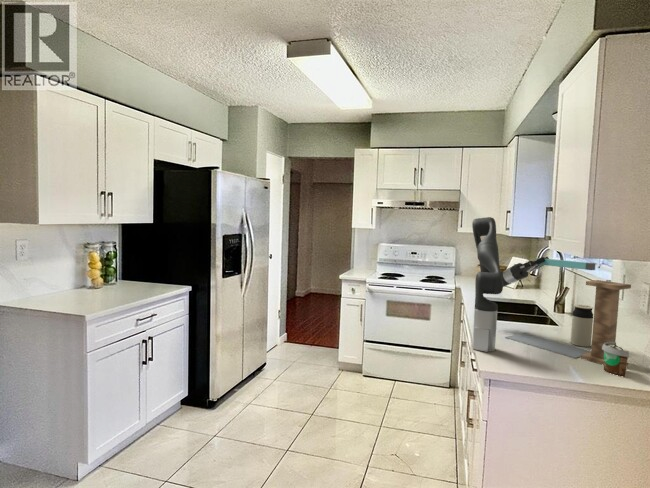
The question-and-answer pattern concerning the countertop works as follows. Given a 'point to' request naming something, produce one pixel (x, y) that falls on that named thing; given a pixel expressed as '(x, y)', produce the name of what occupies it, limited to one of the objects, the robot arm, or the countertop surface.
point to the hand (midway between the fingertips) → (546, 258)
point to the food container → (615, 359)
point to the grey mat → (549, 345)
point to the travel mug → (582, 325)
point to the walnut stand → (604, 317)
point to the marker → (569, 264)
